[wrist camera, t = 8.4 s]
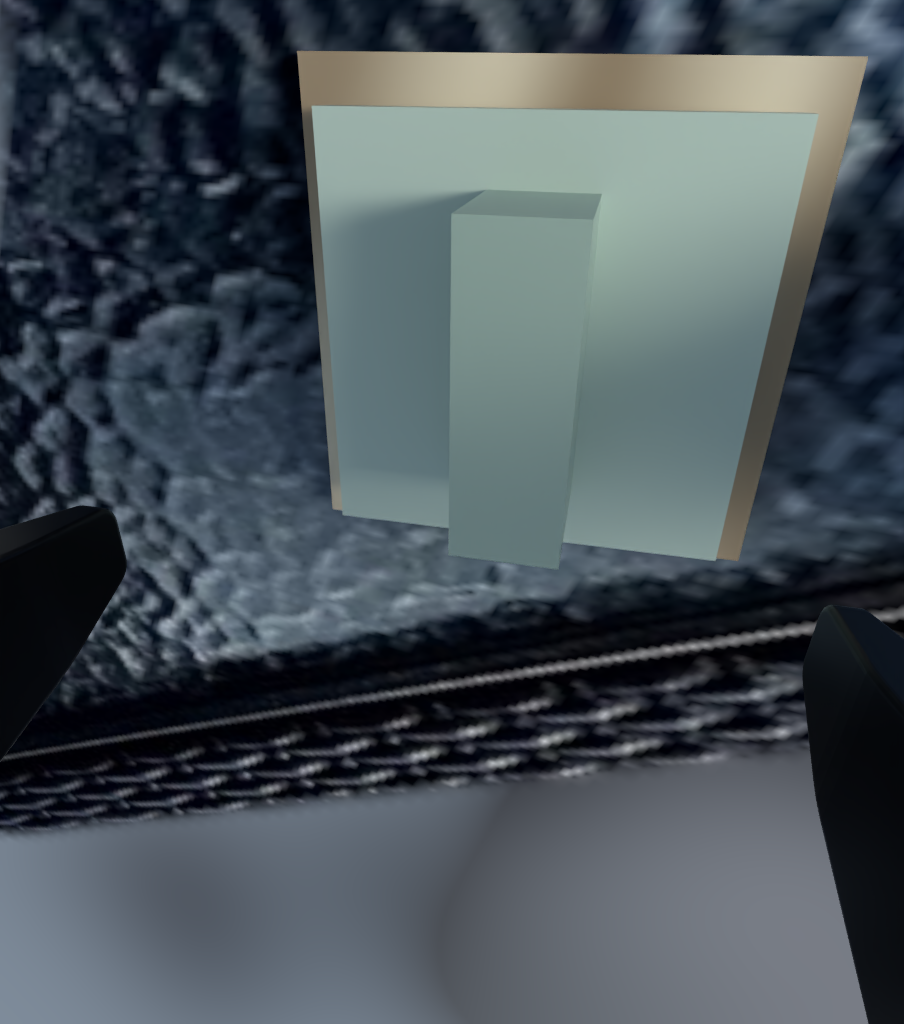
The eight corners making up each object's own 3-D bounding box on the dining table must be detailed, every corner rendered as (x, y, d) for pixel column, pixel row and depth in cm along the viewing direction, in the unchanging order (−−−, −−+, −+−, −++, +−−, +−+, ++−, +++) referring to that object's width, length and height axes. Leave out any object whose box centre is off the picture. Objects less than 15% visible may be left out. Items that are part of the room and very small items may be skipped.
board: (857, 58, 15) (867, 57, 14) (735, 545, 21) (738, 560, 20) (310, 52, 17) (297, 50, 17) (341, 496, 23) (332, 509, 23)
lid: (800, 111, 15) (869, 121, 11) (709, 525, 20) (730, 650, 16) (340, 104, 17) (234, 109, 12) (363, 485, 22) (292, 587, 17)
